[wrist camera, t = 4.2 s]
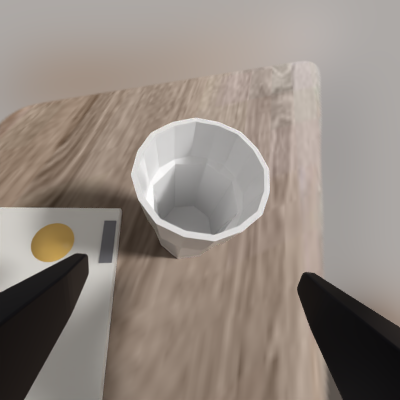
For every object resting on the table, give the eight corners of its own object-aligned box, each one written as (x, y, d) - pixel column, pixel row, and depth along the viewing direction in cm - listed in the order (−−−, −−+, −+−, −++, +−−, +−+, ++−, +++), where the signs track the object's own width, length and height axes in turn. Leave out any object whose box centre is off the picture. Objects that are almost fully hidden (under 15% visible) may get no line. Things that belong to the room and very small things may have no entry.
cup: (210, 277, 19) (260, 259, 9) (139, 255, 19) (106, 213, 9) (226, 210, 22) (276, 140, 12) (163, 191, 21) (160, 103, 11)
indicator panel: (92, 488, 13) (87, 501, 12) (-104, 522, 11) (-126, 541, 11) (122, 211, 20) (120, 207, 19) (3, 210, 18) (-5, 206, 18)
